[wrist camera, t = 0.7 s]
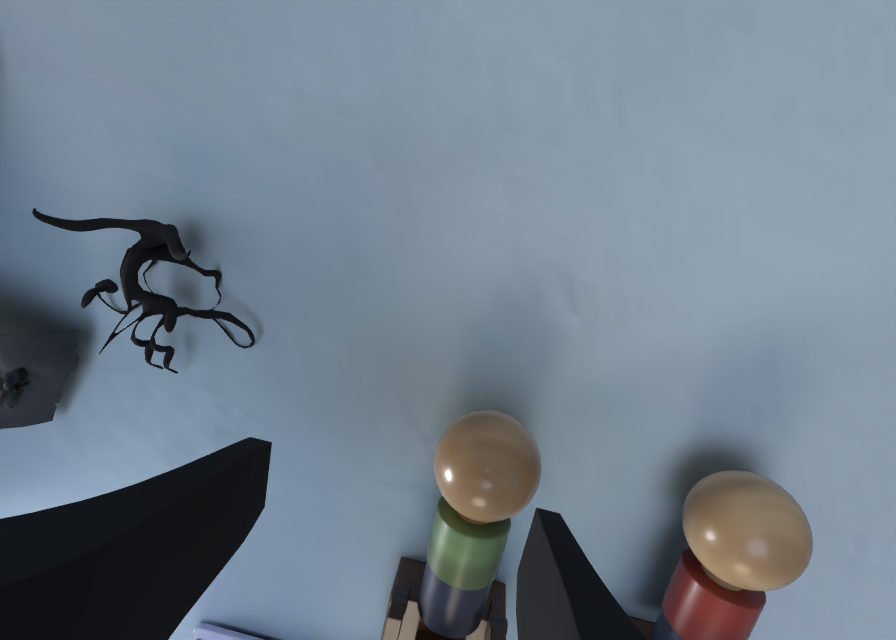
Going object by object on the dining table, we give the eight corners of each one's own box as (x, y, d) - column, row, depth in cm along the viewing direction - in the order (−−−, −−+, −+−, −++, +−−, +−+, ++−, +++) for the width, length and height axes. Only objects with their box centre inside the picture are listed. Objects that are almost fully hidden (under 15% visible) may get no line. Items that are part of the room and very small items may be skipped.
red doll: (708, 638, 23) (755, 738, 19) (618, 615, 23) (644, 708, 19) (788, 464, 20) (863, 533, 16) (686, 439, 20) (733, 501, 16)
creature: (264, 373, 24) (269, 226, 20) (199, 444, 19) (189, 269, 16) (122, 333, 25) (101, 181, 21) (23, 392, 20) (-27, 210, 16)
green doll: (497, 583, 23) (495, 667, 19) (411, 560, 24) (391, 639, 19) (548, 406, 21) (559, 459, 17) (451, 383, 21) (438, 429, 17)
